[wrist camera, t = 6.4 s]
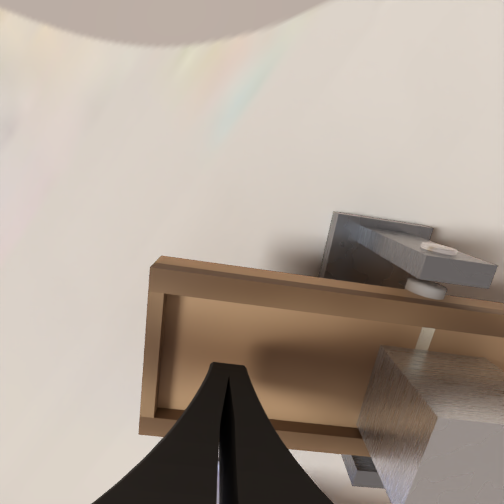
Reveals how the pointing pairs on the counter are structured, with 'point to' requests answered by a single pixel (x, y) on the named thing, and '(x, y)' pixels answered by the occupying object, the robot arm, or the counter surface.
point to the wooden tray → (295, 342)
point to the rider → (435, 427)
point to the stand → (392, 276)
